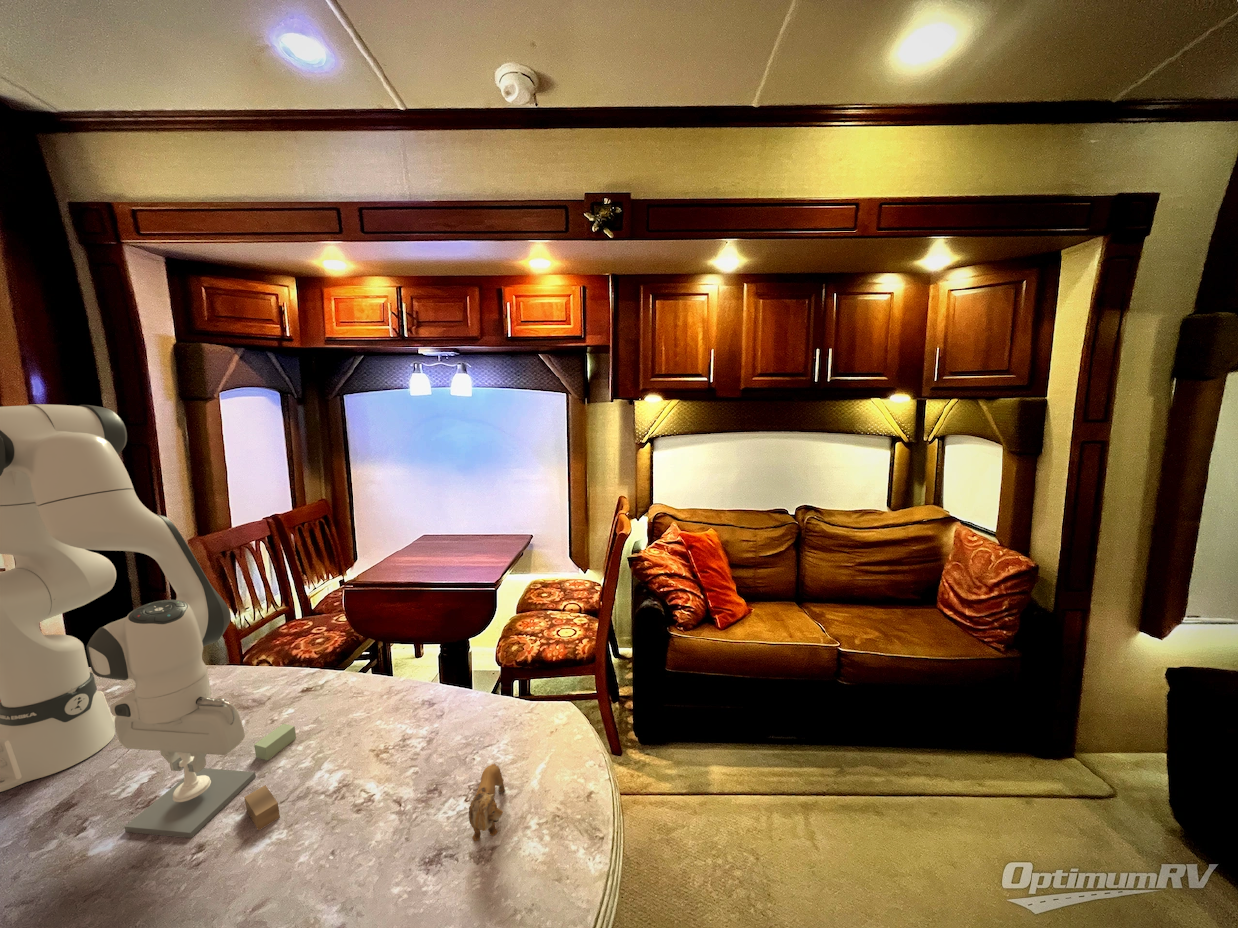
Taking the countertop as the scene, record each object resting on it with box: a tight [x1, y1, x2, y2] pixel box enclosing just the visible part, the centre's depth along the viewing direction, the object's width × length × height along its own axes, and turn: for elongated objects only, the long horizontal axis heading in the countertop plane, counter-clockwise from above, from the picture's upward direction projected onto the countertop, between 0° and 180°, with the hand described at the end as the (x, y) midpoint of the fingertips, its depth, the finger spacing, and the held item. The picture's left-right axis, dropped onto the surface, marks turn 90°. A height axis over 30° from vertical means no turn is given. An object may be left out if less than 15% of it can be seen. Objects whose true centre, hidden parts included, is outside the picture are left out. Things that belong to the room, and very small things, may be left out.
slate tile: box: [124, 767, 257, 839], centre depth 81 cm, size 12×12×1 cm
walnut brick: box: [244, 784, 281, 831], centre depth 79 cm, size 6×3×3 cm, turn 53°
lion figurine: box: [468, 763, 506, 842], centre depth 77 cm, size 15×5×9 cm, turn 14°
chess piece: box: [173, 752, 211, 802], centre depth 80 cm, size 5×5×10 cm
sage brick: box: [253, 723, 297, 761], centre depth 94 cm, size 6×3×3 cm, turn 164°
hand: (189, 768), depth 80 cm, fingers closed on chess piece
